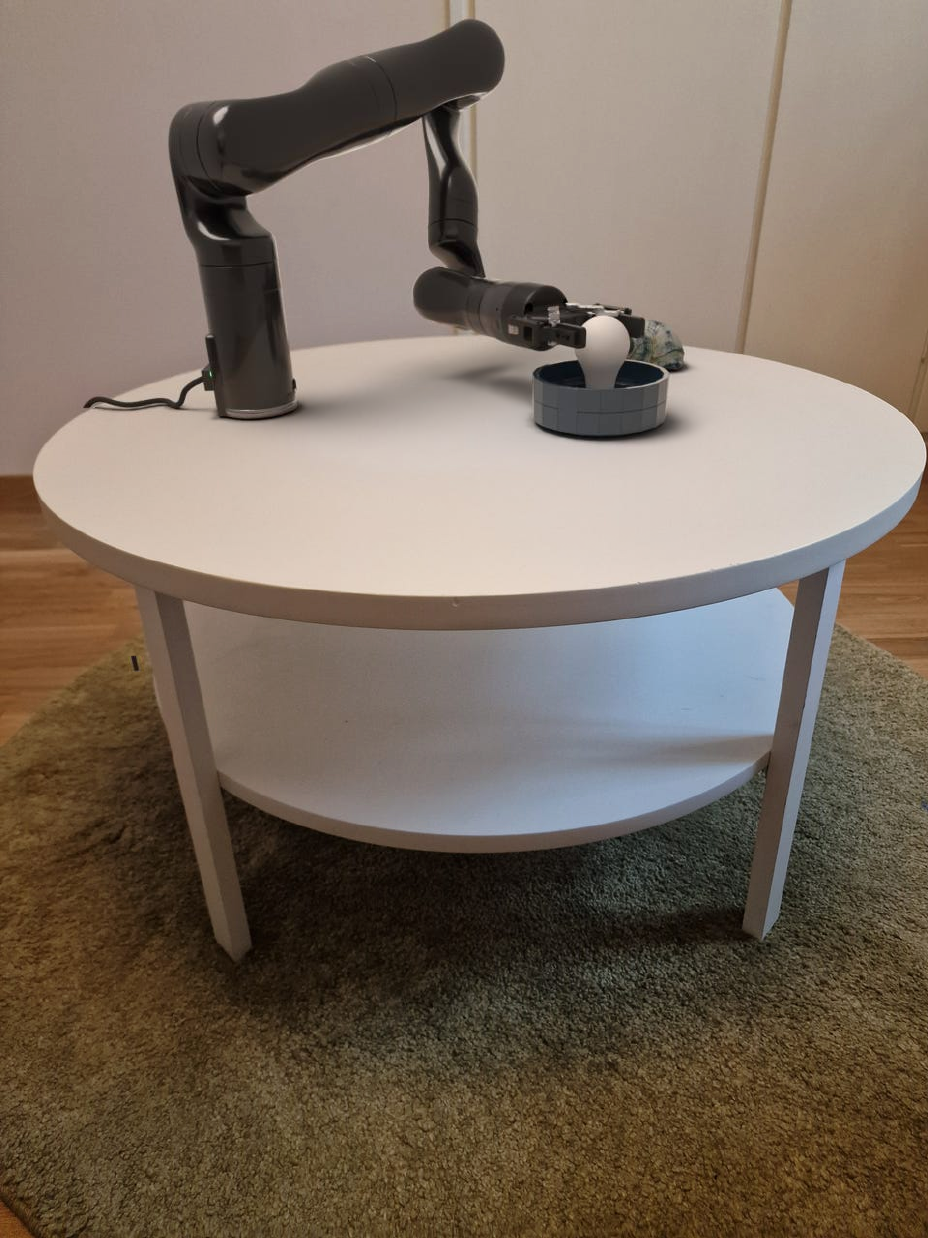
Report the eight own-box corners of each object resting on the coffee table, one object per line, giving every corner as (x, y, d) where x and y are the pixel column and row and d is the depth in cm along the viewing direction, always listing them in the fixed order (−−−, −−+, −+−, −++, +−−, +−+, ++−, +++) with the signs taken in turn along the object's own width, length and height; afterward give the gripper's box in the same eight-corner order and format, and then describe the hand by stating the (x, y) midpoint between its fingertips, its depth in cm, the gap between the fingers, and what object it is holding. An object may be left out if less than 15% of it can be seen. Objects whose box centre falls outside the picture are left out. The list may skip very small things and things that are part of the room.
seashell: (691, 380, 120) (609, 385, 118) (674, 348, 125) (595, 352, 123) (704, 341, 115) (619, 346, 113) (686, 309, 120) (604, 313, 118)
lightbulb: (568, 421, 97) (572, 320, 91) (575, 407, 102) (578, 310, 96) (623, 423, 95) (629, 321, 90) (627, 409, 100) (633, 311, 95)
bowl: (539, 443, 92) (540, 392, 89) (526, 405, 105) (526, 360, 103) (679, 438, 92) (684, 387, 90) (648, 401, 105) (652, 355, 103)
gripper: (475, 287, 99) (564, 304, 87) (569, 275, 106) (664, 289, 94) (476, 353, 103) (562, 378, 91) (567, 338, 110) (658, 359, 98)
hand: (614, 333), depth 92 cm, fingers open, 8 cm apart
